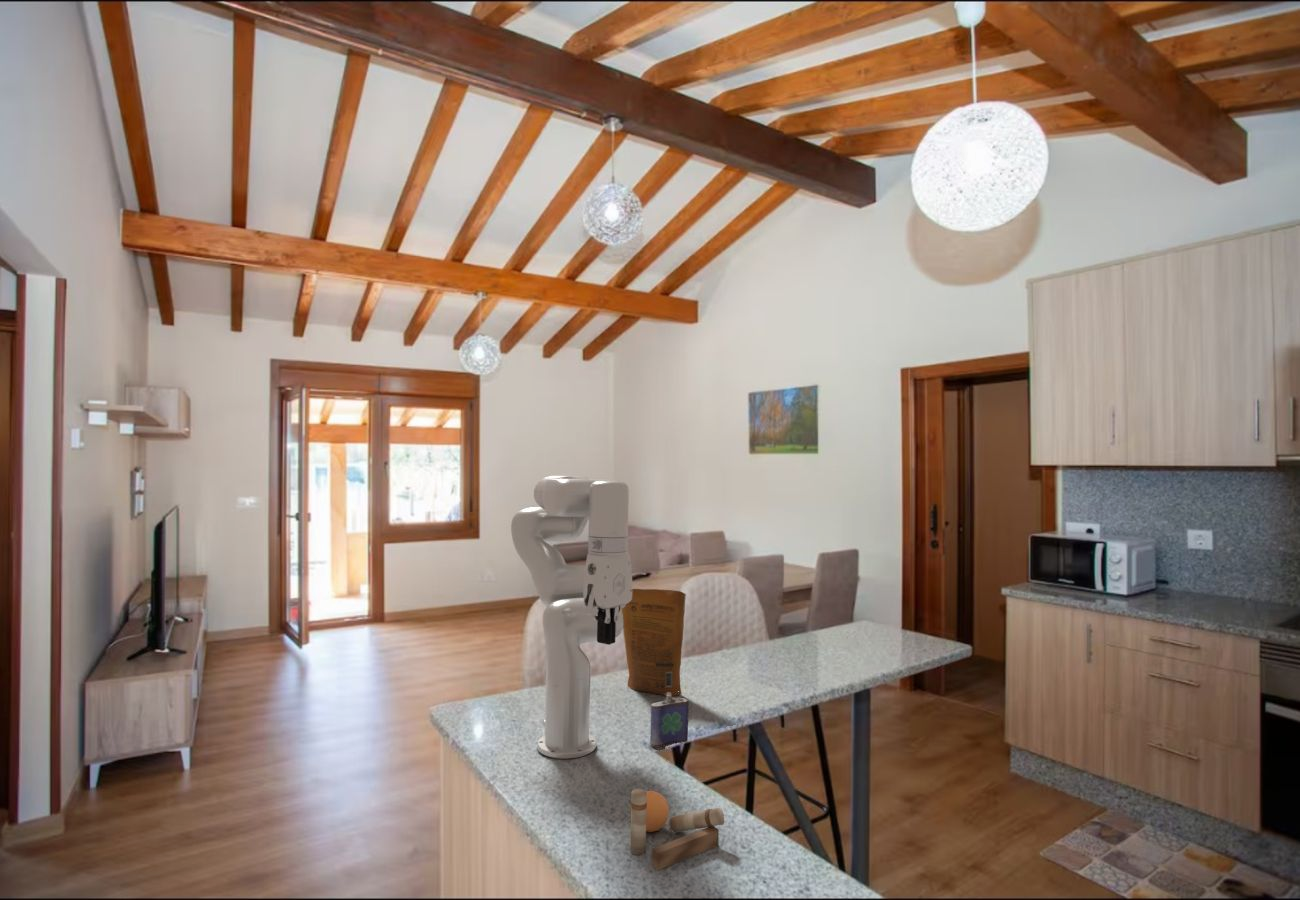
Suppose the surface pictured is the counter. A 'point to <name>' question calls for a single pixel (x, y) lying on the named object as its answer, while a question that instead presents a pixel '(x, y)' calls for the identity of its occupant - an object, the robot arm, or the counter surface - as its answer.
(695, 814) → the pin
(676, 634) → the pancake mix bag
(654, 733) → the flask
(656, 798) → the ball
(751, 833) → the counter surface
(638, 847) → the pin side
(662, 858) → the back rail
